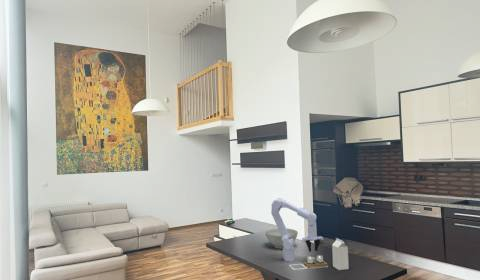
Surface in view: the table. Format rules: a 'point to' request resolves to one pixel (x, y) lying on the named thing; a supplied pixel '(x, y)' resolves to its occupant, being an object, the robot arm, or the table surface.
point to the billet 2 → (319, 259)
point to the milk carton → (340, 255)
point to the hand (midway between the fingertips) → (313, 251)
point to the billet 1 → (310, 260)
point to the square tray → (297, 269)
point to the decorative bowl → (279, 237)
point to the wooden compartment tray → (315, 265)
